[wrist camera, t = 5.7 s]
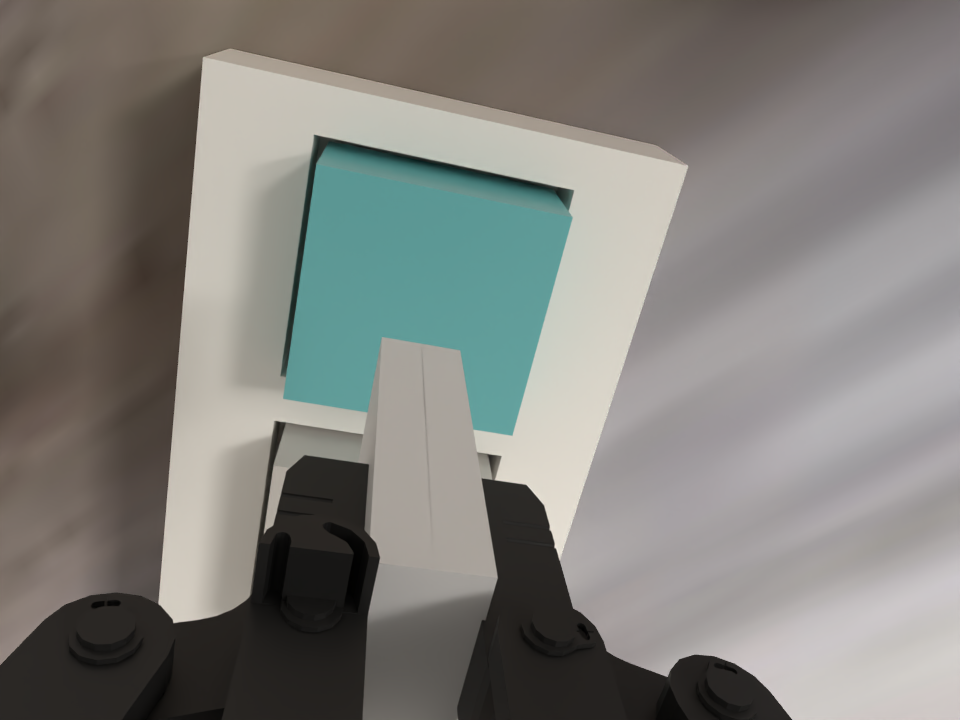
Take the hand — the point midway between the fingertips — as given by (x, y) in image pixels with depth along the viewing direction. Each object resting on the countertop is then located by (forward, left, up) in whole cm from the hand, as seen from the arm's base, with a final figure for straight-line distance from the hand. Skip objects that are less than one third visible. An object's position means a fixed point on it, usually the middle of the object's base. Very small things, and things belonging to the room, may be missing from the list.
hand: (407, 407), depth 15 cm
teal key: (0, 0, -8) cm, 8 cm away
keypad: (0, +8, -9) cm, 12 cm away
